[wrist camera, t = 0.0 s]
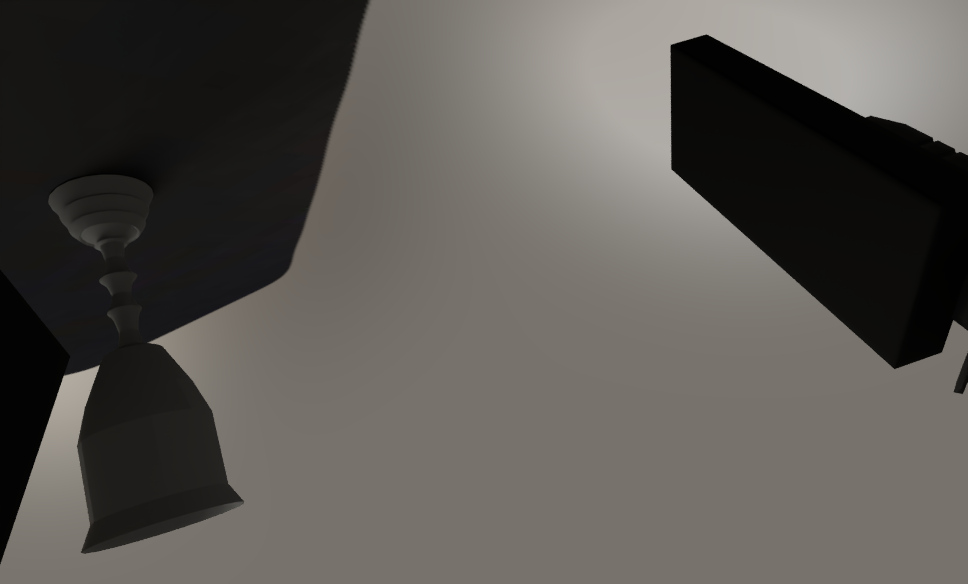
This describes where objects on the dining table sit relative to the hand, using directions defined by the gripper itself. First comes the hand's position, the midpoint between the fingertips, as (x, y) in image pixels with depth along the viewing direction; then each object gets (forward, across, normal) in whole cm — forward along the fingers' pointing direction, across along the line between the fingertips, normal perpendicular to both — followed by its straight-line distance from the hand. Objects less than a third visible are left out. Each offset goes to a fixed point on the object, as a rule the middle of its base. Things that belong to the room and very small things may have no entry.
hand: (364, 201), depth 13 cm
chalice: (+26, -14, -9) cm, 31 cm away
